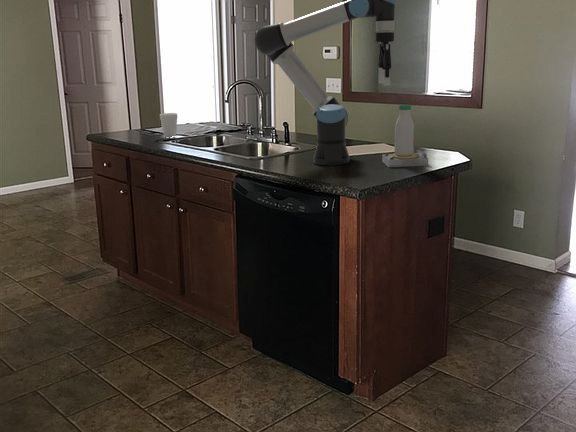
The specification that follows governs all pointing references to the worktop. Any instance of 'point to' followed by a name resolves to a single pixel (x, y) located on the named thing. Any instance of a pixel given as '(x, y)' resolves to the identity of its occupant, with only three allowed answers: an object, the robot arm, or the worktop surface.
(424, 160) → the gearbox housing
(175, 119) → the foam cup
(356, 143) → the worktop surface
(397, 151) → the milk bottle
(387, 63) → the robot arm
